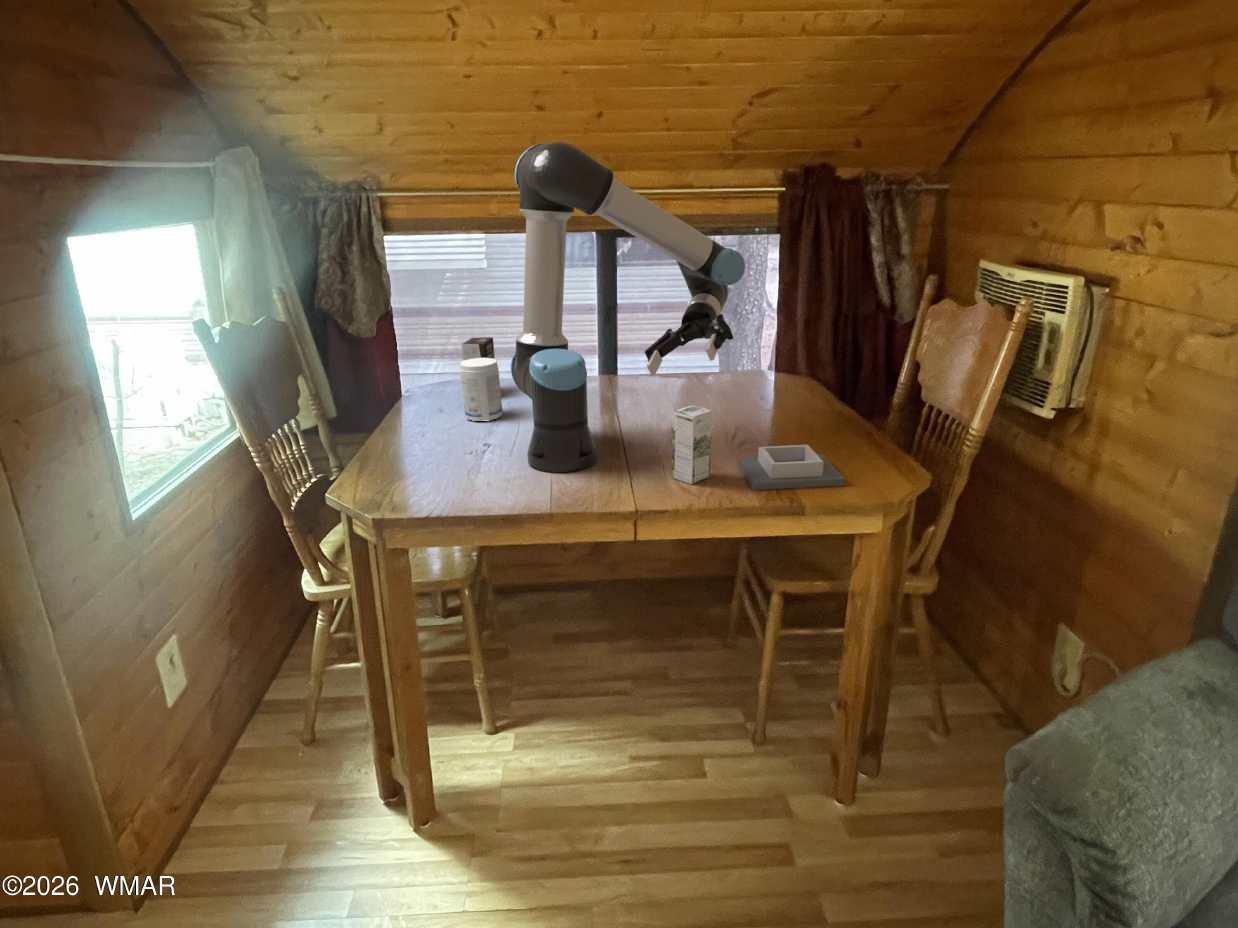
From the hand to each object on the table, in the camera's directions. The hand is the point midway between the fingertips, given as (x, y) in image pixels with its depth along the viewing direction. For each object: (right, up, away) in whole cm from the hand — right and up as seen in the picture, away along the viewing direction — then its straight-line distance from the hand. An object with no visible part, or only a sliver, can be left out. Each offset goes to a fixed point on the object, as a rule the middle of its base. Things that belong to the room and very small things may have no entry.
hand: (679, 363), depth 164 cm
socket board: (+22, -23, -3) cm, 32 cm away
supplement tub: (-47, -9, +40) cm, 63 cm away
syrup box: (+2, -24, -3) cm, 24 cm away
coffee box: (-51, -2, +58) cm, 77 cm away
